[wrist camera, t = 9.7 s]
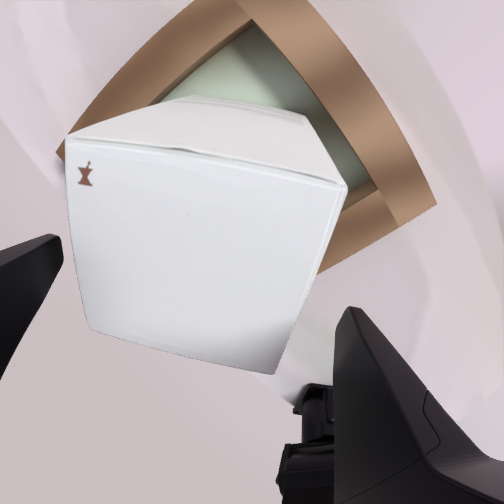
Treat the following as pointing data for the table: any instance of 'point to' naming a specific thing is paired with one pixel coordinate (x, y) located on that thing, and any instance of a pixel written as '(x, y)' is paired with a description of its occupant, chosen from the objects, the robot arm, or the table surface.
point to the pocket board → (282, 101)
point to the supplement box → (200, 226)
